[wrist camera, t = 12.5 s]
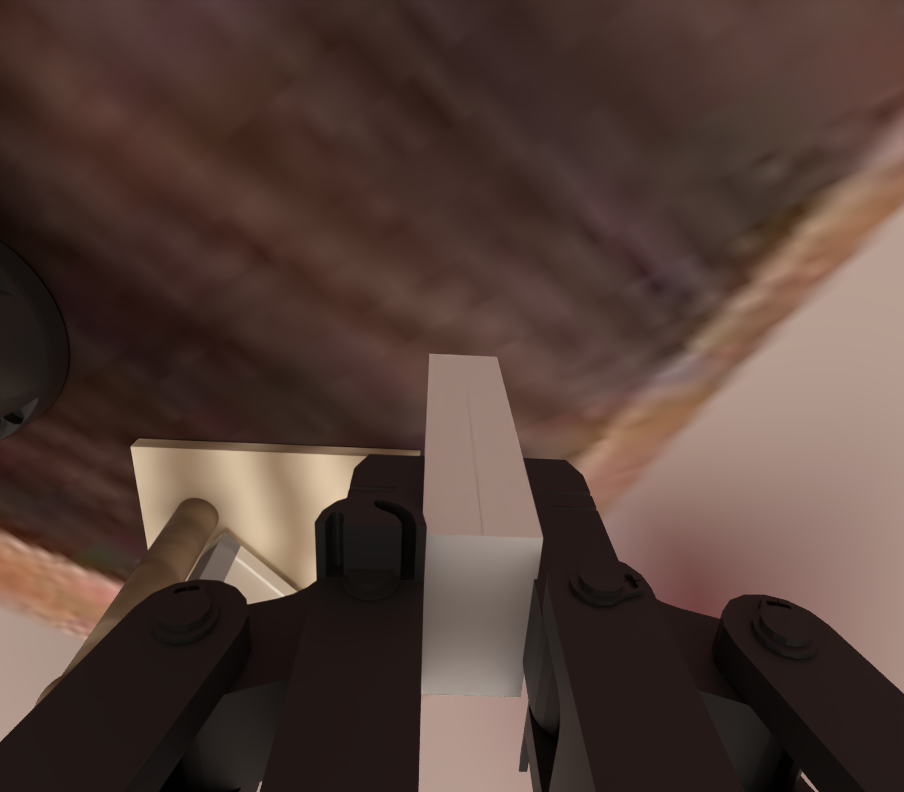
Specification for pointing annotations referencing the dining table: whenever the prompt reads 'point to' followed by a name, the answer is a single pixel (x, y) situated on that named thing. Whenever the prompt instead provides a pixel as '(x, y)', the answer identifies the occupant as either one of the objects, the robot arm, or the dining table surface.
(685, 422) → the dining table surface
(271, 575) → the gate
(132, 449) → the gate frame
